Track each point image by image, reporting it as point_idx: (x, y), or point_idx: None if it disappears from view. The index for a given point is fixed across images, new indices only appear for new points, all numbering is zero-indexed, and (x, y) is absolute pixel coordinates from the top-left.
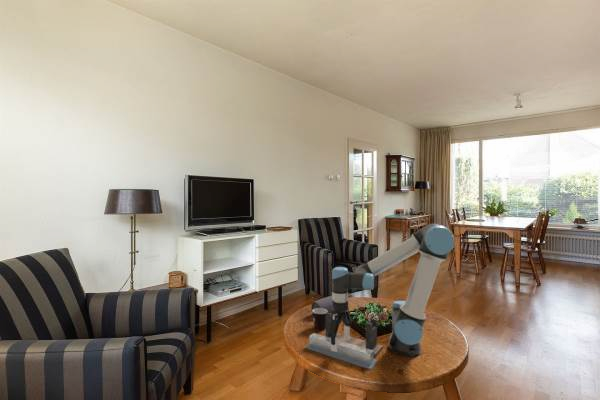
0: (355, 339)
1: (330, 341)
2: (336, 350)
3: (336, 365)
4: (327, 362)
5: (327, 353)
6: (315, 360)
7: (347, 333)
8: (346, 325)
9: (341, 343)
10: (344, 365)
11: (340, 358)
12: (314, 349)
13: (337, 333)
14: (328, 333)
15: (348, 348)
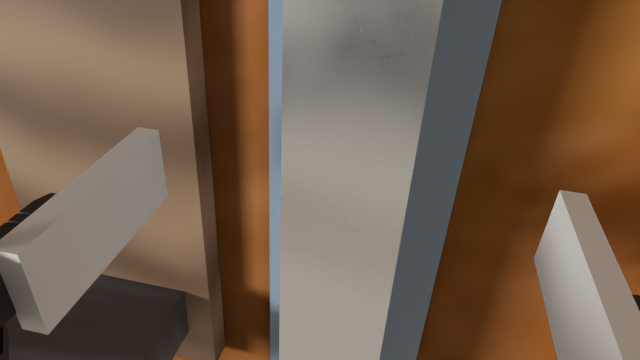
0: (6, 78)
1: (364, 320)
2: (587, 205)
3: (628, 104)
4: None
5: (427, 253)
6: None
7: (110, 199)
8: (7, 302)
9: (344, 194)
10: (598, 13)
11: (476, 107)
12: (408, 357)
13: None
14: (161, 349)
15: (432, 56)
